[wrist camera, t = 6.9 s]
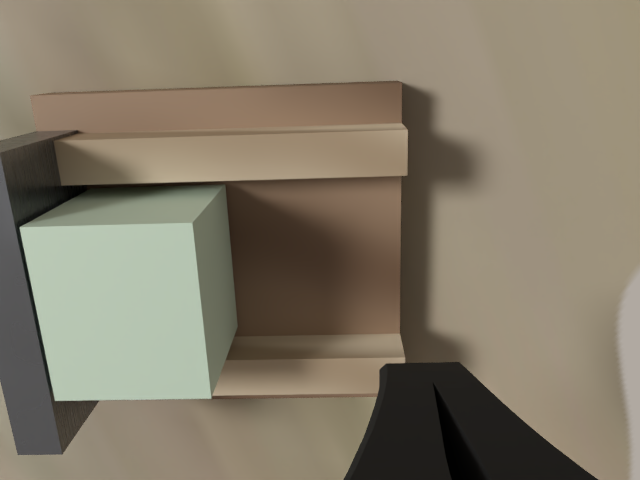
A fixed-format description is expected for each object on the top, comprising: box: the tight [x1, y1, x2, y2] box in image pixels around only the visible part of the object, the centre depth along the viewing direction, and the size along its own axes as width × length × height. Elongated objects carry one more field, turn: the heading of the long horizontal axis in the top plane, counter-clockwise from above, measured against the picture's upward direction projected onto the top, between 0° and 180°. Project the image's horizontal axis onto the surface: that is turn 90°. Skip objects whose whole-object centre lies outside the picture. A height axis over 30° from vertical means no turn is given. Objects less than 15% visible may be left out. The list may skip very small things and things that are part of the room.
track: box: [0, 81, 408, 455], centre depth 16 cm, size 10×10×5 cm
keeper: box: [19, 185, 238, 401], centre depth 16 cm, size 5×4×4 cm
